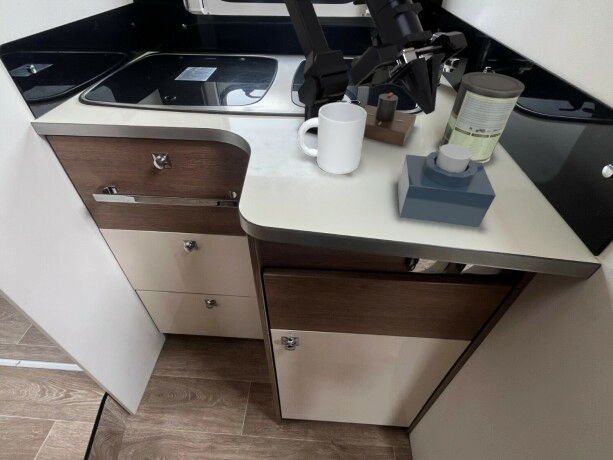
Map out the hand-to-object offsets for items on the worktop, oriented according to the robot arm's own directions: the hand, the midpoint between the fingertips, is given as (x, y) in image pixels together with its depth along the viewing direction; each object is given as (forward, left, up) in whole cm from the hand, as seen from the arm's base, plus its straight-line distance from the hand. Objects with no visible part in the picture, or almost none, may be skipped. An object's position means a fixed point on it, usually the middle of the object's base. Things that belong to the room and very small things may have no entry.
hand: (430, 112), depth 47 cm
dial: (-11, +19, -10) cm, 24 cm away
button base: (+5, -3, -13) cm, 15 cm away
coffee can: (+7, +18, -14) cm, 24 cm away
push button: (+5, -3, -6) cm, 8 cm away
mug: (-16, 0, -14) cm, 21 cm away
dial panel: (-11, +19, -13) cm, 26 cm away
